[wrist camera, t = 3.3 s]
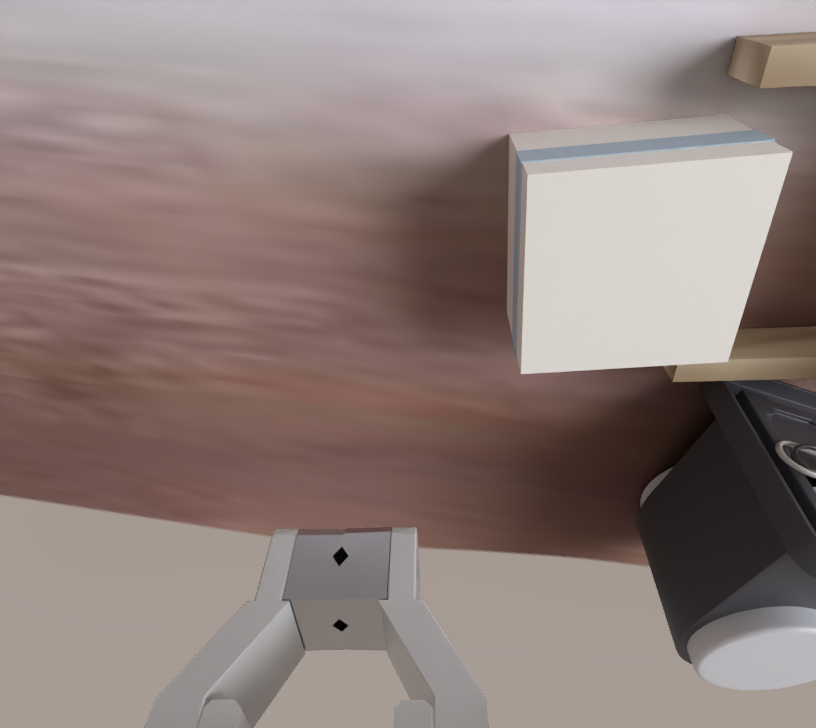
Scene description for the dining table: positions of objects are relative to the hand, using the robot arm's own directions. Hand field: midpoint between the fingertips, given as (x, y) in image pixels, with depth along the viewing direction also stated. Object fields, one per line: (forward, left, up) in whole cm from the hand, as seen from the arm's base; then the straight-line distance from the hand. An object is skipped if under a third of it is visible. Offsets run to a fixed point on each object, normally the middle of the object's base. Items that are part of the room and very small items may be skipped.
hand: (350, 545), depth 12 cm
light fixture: (+15, +18, -16) cm, 28 cm away
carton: (0, +9, -16) cm, 18 cm away
